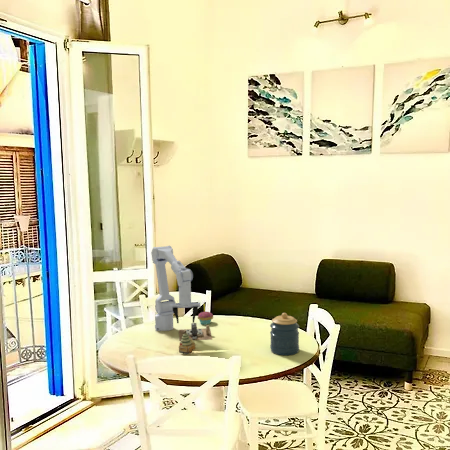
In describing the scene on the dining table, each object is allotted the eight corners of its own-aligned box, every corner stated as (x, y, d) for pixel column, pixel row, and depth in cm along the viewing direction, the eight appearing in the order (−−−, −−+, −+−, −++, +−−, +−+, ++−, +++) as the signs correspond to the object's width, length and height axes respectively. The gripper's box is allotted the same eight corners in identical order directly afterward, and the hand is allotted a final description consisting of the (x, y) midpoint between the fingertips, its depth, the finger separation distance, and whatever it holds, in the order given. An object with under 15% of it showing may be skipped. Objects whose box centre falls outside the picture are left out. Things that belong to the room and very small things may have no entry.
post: (191, 335, 241) (191, 324, 240) (191, 333, 243) (191, 323, 243) (196, 335, 241) (196, 324, 241) (196, 333, 244) (196, 322, 243)
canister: (280, 344, 229) (280, 307, 227) (304, 349, 220) (304, 312, 219) (264, 351, 219) (264, 313, 217) (289, 358, 210) (289, 318, 209)
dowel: (206, 335, 240) (206, 326, 240) (206, 334, 242) (206, 325, 242) (209, 335, 241) (209, 326, 240) (209, 334, 242) (209, 325, 242)
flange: (185, 331, 246) (185, 321, 245) (201, 331, 247) (201, 320, 246) (186, 339, 234) (186, 328, 233) (203, 338, 234) (202, 327, 234)
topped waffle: (185, 347, 226) (184, 326, 225) (197, 349, 224) (196, 328, 223) (177, 353, 218) (176, 332, 218) (189, 355, 216) (189, 333, 215)
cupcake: (195, 323, 264) (195, 302, 263) (209, 321, 267) (209, 300, 266) (201, 327, 256) (201, 305, 255) (216, 325, 260) (215, 303, 259)
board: (179, 343, 233) (179, 341, 233) (179, 331, 250) (178, 329, 250) (212, 341, 234) (212, 339, 234) (209, 330, 252) (209, 328, 252)
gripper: (169, 297, 228) (170, 325, 229) (200, 296, 230) (201, 324, 231) (169, 293, 235) (170, 321, 236) (199, 292, 237) (200, 319, 238)
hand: (185, 322), depth 234 cm, fingers open, 7 cm apart
